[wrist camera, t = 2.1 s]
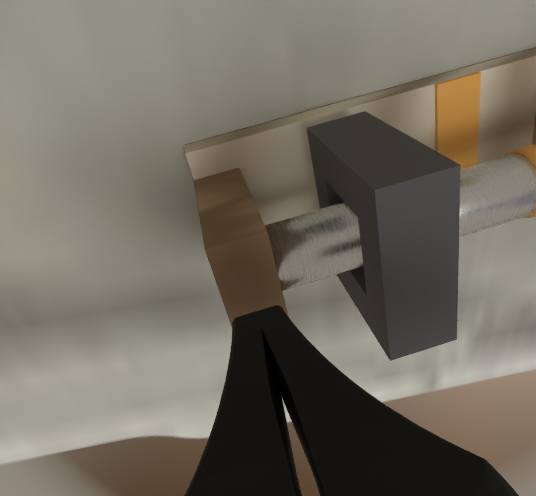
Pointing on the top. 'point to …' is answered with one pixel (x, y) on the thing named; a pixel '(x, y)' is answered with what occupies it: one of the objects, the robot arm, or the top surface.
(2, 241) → the top surface
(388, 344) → the collar
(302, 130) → the pipe stand
